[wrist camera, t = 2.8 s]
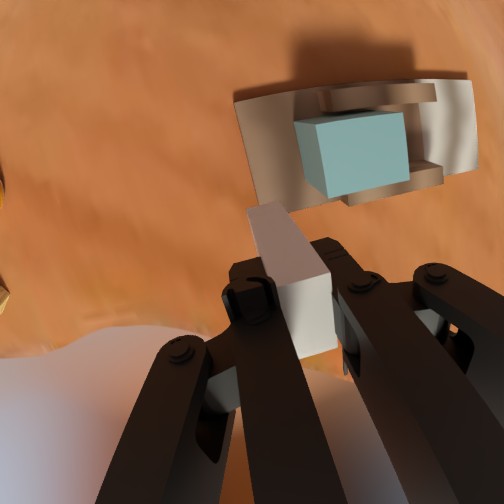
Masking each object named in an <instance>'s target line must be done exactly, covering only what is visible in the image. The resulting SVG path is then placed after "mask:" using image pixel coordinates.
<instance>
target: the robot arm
mask: <svg viewBox="0 0 504 504" xmlns="http://www.w3.org/2000/svg"><path fill="white" fill-rule="evenodd" d="M246 212H247V215H248V219H249V223H250V227H251V231H252V235H253V239H254V243H255V247H256V250H257V254H258V257H256V258H253V259H249V260H245V261H241V262H238V263H234V264H233V265H232V267H231V269H230V271H229V280H230V283H229V284H228V285H227V286H226V287H225V288H224V290H223V292H222V296H221V297H222V300H223V303H224V305H225V308H226V311H227V314H228V317H229V319H230V322H231V324H230V326H229V327H228V328H227V329H226V330H225V331H224V332H223V333H221V334H220V335H218V336H216V337H214V338H212V339H210V340H208V341H206V342H204V341H203V339H201V338H200V337H198V336H194V335H185V336H179V337H177V338H174V339H172V340H170V341H169V342H168V343H166V344H165V345H164V346H162V348H161V349H160V350H159V352H158V353H157V355H156V358H155V360H154V362H153V364H152V367H151V369H150V371H149V373H148V375H147V378H146V380H145V382H144V384H143V387H142V389H141V392H140V394H139V396H138V398H137V401H136V403H135V405H134V407H133V410H132V412H131V414H130V417H129V419H128V422H127V424H126V426H125V429H124V431H123V433H122V436H121V438H120V441H119V443H118V446H117V448H116V450H115V453H114V455H113V458H112V461H111V463H110V466H109V468H108V471H107V473H106V476H105V478H104V481H103V483H102V486H101V489H100V491H99V494H98V496H97V499H96V502H95V504H219V499H220V494H221V489H222V483H223V478H224V473H225V467H226V462H227V457H228V452H229V446H230V441H231V435H232V429H233V424H234V419H235V413H236V410H235V409H236V408H238V407H240V406H241V412H242V419H243V428H244V435H245V441H246V449H247V456H248V463H249V470H250V477H251V483H252V490H253V496H254V502H255V504H348V503H347V500H346V497H345V494H344V491H343V488H342V485H341V482H340V479H339V476H338V473H337V470H336V467H335V464H334V461H333V458H332V455H331V452H330V449H329V446H328V443H327V440H326V437H325V434H324V431H323V428H322V425H321V422H320V420H319V416H318V413H317V410H316V408H315V405H314V402H313V399H312V396H311V393H310V390H309V387H308V384H307V381H306V378H305V375H304V373H303V370H302V367H301V364H300V361H299V359H302V358H305V357H308V356H312V355H315V354H318V353H322V352H325V351H328V350H331V349H334V348H337V347H338V344H337V337H338V339H339V340H340V342H341V344H342V353H343V371H344V375H347V374H348V369H349V372H350V374H351V376H352V378H353V380H354V382H355V384H356V386H357V388H358V390H359V392H360V395H361V397H362V399H363V401H364V403H365V405H366V407H367V410H368V412H369V414H370V416H371V418H372V420H373V423H374V425H375V427H376V429H377V431H378V434H379V436H380V438H381V440H382V442H383V445H384V447H385V449H386V451H387V454H388V456H389V458H390V460H391V463H392V465H393V467H394V469H395V472H396V474H397V476H398V479H399V481H400V483H401V485H402V488H403V490H404V493H405V495H406V497H407V500H408V502H409V504H504V296H502V295H501V294H499V293H497V292H495V291H494V290H492V289H490V288H489V287H487V286H485V285H483V284H481V283H480V282H478V281H476V280H474V279H472V278H471V277H469V276H467V275H465V274H463V273H462V272H460V271H458V270H456V269H454V268H452V267H450V266H448V265H445V264H441V263H428V264H424V265H422V266H419V267H418V268H417V269H416V270H415V271H414V275H413V281H409V282H400V283H388V282H387V281H386V280H385V279H384V277H382V276H381V275H379V274H378V273H374V272H371V271H364V270H363V269H362V268H361V267H360V265H359V264H358V263H357V262H356V261H355V260H354V259H353V258H352V256H351V255H349V253H348V252H347V251H346V250H345V249H344V247H343V246H342V245H341V244H340V243H339V242H338V241H336V240H333V239H331V238H329V237H326V238H323V239H319V240H315V241H312V242H309V241H308V240H307V238H306V237H305V235H304V234H303V233H302V231H301V230H300V229H299V227H298V226H297V224H296V223H295V222H294V220H293V219H292V218H291V216H290V215H289V213H288V212H287V211H286V209H285V208H284V207H283V205H282V204H281V203H280V201H279V200H278V201H274V202H270V203H267V204H263V205H259V206H255V207H251V208H247V209H246ZM451 323H452V324H453V325H454V326H456V327H457V328H458V332H457V333H454V332H452V331H450V325H451Z"/></svg>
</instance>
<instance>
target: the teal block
mask: <svg viewBox="0 0 504 504" xmlns="http://www.w3.org/2000/svg"><path fill="white" fill-rule="evenodd" d="M294 125H295V130H296V135H297V139H298V144H299V149H300V154H301V159H302V164H303V169H304V175H305V180H306V181H307V182H308V183H309V184H311V185H312V186H313V187H314V188H316V189H317V190H318V191H319V192H321V193H322V194H323V195H324V196H326V197H327V198H328V199H329V198H333V197H337V196H341V195H346V194H350V193H354V192H358V191H363V190H367V189H371V188H376V187H380V186H385V185H389V184H393V183H398V182H403V181H407V180H410V176H409V162H408V151H407V142H406V133H405V125H404V117H403V112H392V111H379V110H362V111H355V112H347V113H340V114H334V115H328V116H322V117H316V118H310V119H305V120H299V121H294Z"/></svg>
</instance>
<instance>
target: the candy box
mask: <svg viewBox="0 0 504 504" xmlns="http://www.w3.org/2000/svg"><path fill="white" fill-rule="evenodd" d="M9 295H10V293H9V292H7V291H6V290H5V289H4V288H3V287H2V286H1V285H0V314H1V313H2V312H3V310H4V308H5V305H6V303H7V300H8V298H9Z"/></svg>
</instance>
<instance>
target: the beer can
mask: <svg viewBox="0 0 504 504" xmlns="http://www.w3.org/2000/svg"><path fill="white" fill-rule="evenodd" d="M3 199H4V188H3V184H2V181H1V179H0V210H1V208H2V204H3Z"/></svg>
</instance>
